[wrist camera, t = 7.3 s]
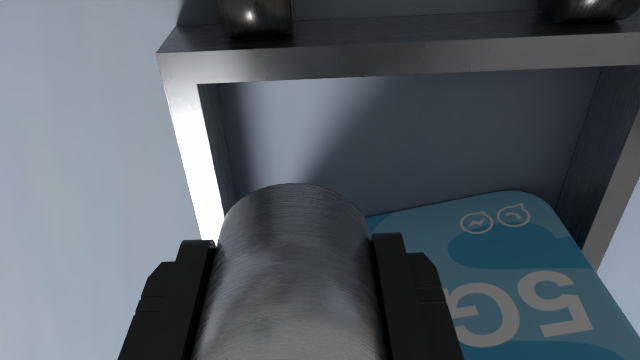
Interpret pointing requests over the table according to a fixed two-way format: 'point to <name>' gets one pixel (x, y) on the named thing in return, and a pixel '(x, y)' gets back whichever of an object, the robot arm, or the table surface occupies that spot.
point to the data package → (515, 279)
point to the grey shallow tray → (416, 58)
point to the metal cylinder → (292, 281)
